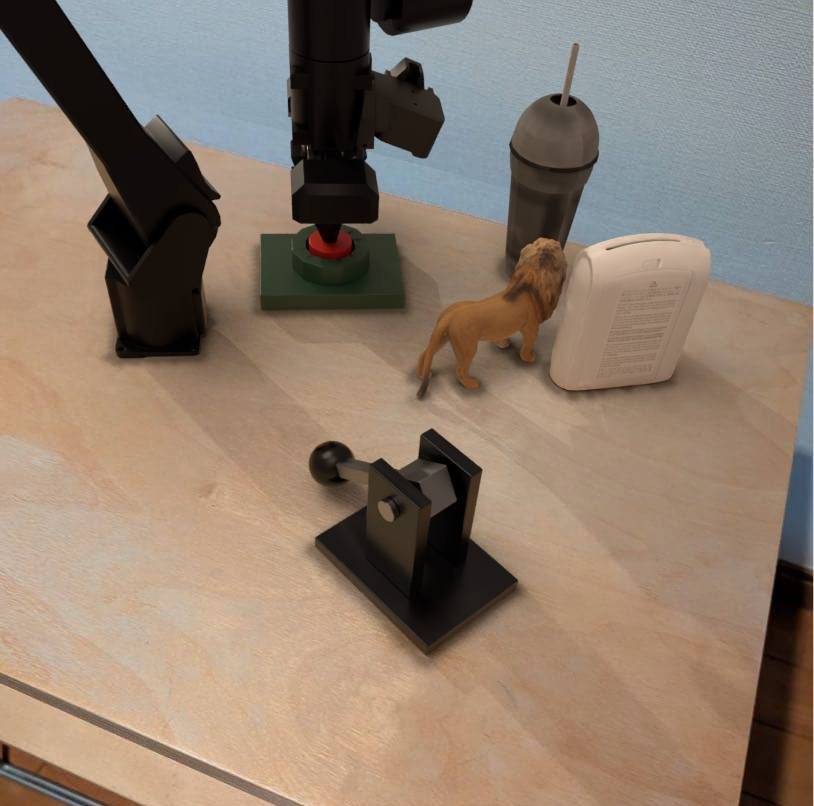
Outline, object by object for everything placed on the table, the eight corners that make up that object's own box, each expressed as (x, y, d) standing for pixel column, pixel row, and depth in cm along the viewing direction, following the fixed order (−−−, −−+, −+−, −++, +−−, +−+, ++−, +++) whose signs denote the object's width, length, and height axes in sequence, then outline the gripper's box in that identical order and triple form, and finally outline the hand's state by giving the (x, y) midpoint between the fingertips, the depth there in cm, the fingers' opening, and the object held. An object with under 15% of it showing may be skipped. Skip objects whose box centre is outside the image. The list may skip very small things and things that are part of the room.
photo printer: (657, 350, 76) (704, 216, 66) (678, 384, 73) (730, 250, 64) (541, 362, 74) (572, 226, 65) (558, 398, 72) (593, 262, 62)
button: (310, 273, 77) (309, 252, 75) (308, 249, 79) (308, 227, 77) (352, 273, 77) (353, 252, 75) (350, 248, 79) (350, 227, 78)
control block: (261, 312, 76) (258, 276, 73) (261, 250, 82) (258, 214, 79) (403, 310, 77) (406, 275, 75) (394, 249, 83) (396, 214, 80)
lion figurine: (519, 312, 78) (537, 218, 71) (566, 343, 76) (590, 249, 69) (394, 386, 71) (401, 289, 64) (443, 422, 69) (455, 326, 62)
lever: (308, 492, 63) (293, 450, 61) (345, 471, 64) (330, 430, 63) (425, 528, 53) (410, 480, 51) (465, 502, 54) (451, 454, 53)
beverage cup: (569, 253, 84) (623, 22, 69) (570, 300, 80) (628, 64, 64) (491, 244, 84) (527, 11, 69) (488, 291, 80) (525, 53, 64)
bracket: (314, 548, 61) (312, 443, 53) (404, 492, 64) (413, 387, 57) (425, 657, 56) (440, 560, 48) (515, 590, 59) (542, 490, 52)
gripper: (459, 110, 59) (438, 308, 71) (427, -5, 71) (413, 181, 83) (288, 107, 58) (295, 309, 70) (283, -9, 70) (290, 181, 82)
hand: (329, 240), depth 76 cm, fingers closed, pressing on button
